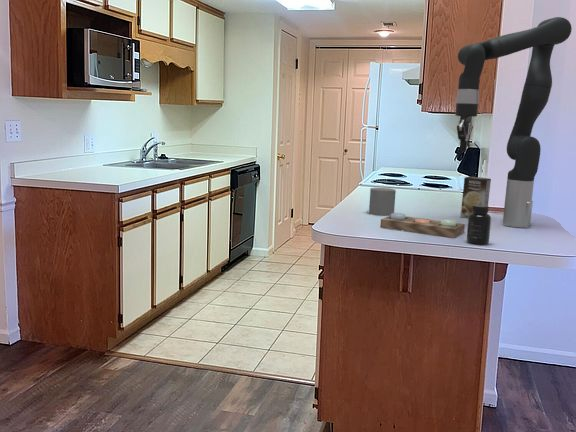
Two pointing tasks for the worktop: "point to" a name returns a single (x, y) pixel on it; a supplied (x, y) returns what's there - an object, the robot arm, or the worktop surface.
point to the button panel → (423, 226)
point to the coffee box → (474, 194)
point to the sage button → (448, 223)
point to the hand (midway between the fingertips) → (462, 151)
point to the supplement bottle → (479, 225)
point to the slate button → (398, 216)
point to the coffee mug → (382, 201)
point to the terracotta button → (422, 221)
